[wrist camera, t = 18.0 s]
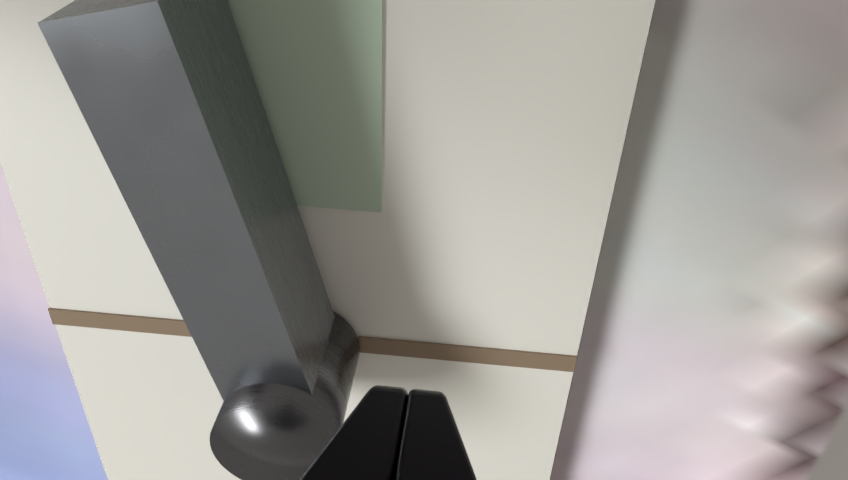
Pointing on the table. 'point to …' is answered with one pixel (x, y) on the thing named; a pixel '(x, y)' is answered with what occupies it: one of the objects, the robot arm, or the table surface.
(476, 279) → the board
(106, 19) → the bar
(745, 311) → the table surface
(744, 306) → the table surface
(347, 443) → the robot arm
